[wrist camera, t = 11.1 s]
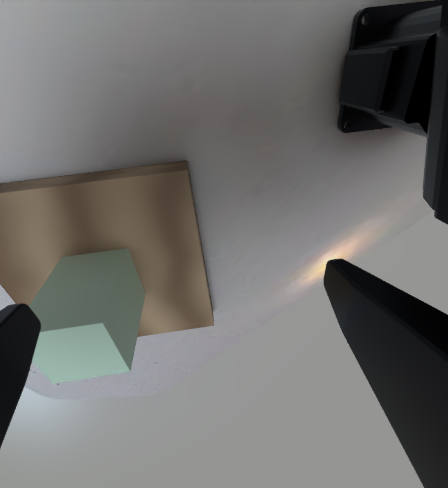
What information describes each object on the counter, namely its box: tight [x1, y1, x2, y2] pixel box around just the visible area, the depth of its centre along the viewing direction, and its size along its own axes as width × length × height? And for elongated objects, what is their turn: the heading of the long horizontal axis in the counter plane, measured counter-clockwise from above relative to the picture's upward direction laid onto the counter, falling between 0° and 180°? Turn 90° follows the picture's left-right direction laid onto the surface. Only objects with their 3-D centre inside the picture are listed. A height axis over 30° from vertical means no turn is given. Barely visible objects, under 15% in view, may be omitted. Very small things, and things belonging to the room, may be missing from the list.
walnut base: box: [0, 161, 214, 337], centre depth 22 cm, size 16×16×2 cm
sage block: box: [29, 248, 145, 384], centre depth 18 cm, size 5×5×7 cm
